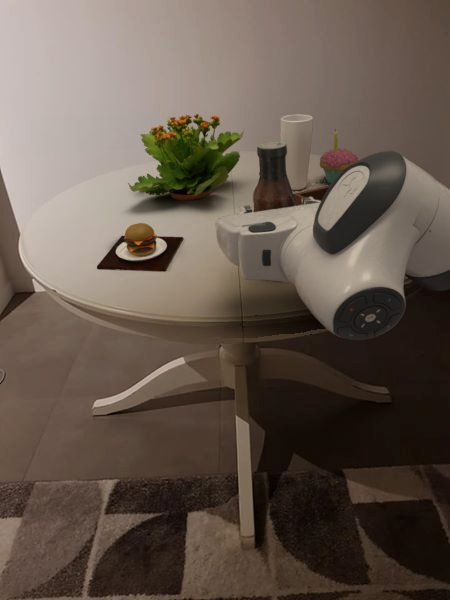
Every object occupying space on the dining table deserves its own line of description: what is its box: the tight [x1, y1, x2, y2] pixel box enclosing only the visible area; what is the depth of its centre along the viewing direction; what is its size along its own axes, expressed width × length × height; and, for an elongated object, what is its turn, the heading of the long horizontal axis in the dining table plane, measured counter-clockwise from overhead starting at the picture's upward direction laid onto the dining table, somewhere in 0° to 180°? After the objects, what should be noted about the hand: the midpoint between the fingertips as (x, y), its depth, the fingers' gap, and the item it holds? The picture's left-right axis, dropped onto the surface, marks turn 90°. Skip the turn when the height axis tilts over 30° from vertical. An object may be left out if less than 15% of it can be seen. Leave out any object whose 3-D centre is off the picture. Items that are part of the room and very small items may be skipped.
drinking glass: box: [279, 113, 314, 191], centre depth 102 cm, size 7×7×15 cm
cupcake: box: [319, 128, 359, 185], centre depth 105 cm, size 9×8×12 cm
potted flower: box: [127, 113, 245, 201], centre depth 103 cm, size 25×24×18 cm
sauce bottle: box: [252, 140, 296, 212], centre depth 69 cm, size 7×6×20 cm
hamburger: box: [96, 222, 184, 272], centre depth 81 cm, size 12×12×6 cm
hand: (275, 206), depth 69 cm, fingers open, 8 cm apart
